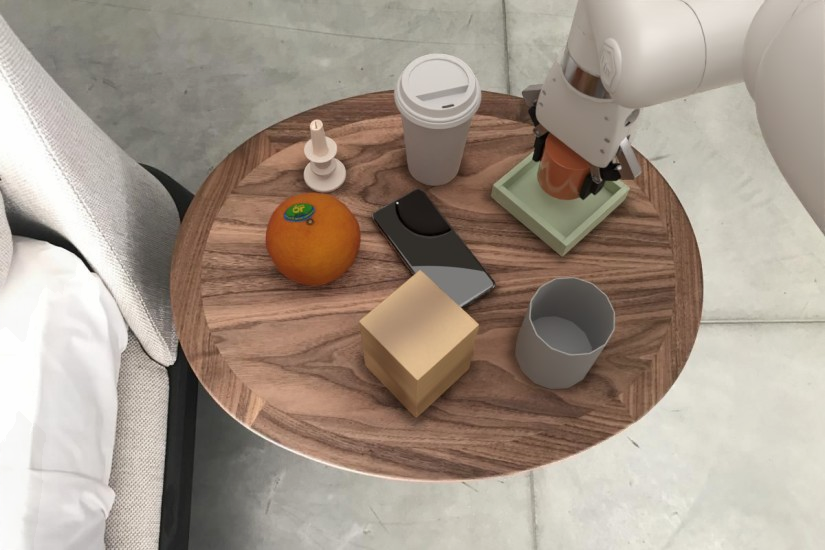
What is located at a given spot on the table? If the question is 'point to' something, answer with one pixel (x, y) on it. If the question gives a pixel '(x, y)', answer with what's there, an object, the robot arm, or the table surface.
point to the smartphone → (433, 247)
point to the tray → (554, 206)
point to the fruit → (313, 238)
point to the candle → (322, 161)
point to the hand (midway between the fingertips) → (565, 172)
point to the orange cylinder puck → (561, 170)
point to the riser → (418, 342)
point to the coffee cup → (436, 115)
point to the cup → (564, 332)
